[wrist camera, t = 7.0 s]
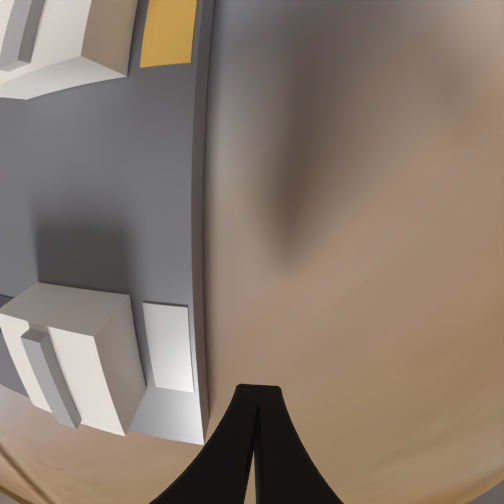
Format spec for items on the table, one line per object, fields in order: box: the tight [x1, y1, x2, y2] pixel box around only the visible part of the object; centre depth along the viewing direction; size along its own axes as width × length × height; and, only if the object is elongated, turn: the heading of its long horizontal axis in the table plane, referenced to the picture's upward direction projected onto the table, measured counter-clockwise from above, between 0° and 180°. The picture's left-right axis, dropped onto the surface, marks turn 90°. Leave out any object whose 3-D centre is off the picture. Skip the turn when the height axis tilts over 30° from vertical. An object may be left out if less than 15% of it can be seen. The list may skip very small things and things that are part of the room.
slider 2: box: [0, 282, 147, 436], centre depth 10 cm, size 5×5×4 cm
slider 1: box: [0, 0, 138, 100], centre depth 6 cm, size 5×5×4 cm
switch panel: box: [0, 0, 215, 445], centre depth 11 cm, size 18×26×2 cm
